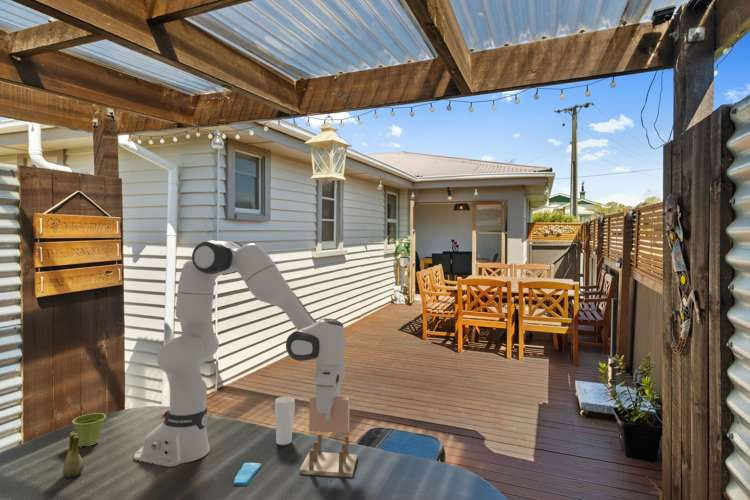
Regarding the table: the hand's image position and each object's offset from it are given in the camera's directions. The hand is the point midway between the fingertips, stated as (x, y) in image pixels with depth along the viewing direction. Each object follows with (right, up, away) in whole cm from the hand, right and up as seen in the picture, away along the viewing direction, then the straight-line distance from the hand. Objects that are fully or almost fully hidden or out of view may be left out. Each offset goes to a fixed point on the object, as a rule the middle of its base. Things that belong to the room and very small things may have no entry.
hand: (329, 417), depth 127 cm
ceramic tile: (0, -4, 0) cm, 4 cm away
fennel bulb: (-74, -15, -6) cm, 76 cm away
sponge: (-25, -16, -4) cm, 30 cm away
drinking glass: (-18, -16, +18) cm, 30 cm away
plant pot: (-84, -15, +13) cm, 86 cm away
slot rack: (0, -16, +2) cm, 16 cm away
